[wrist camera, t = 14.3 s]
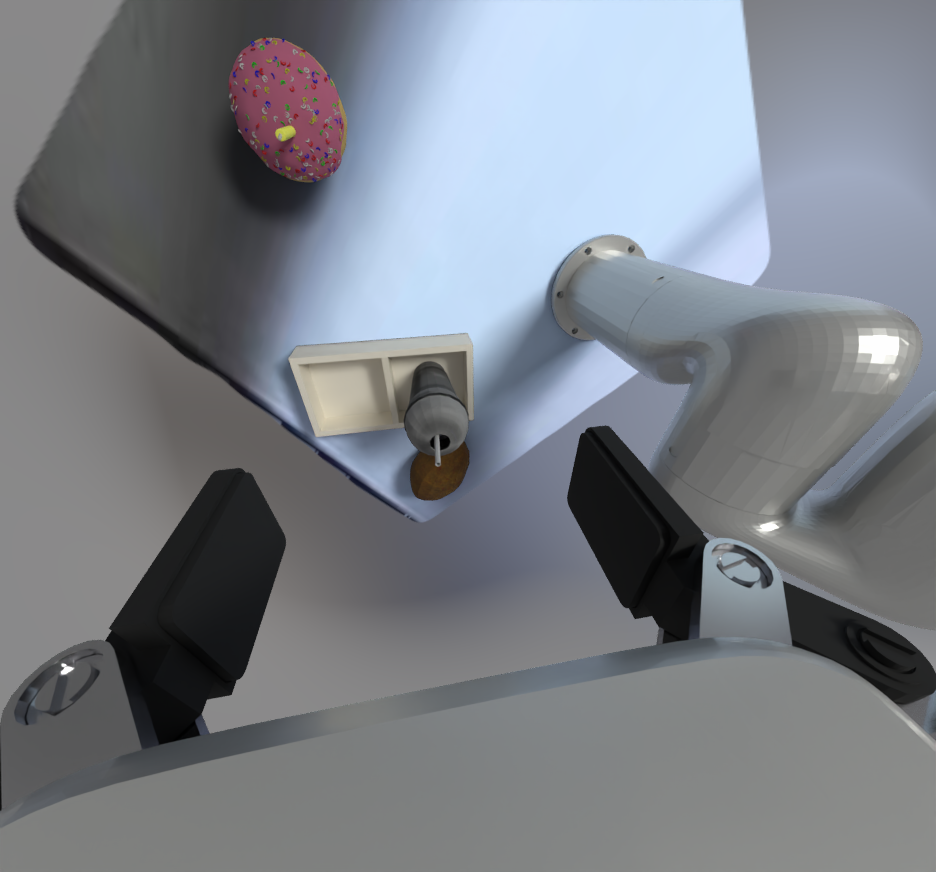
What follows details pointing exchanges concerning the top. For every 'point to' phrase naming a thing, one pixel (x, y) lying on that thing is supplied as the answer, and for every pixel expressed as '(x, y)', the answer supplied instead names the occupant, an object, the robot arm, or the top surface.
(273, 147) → the cupcake
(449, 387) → the beverage cup
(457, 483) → the potato
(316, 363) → the cup carrier
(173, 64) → the top surface
